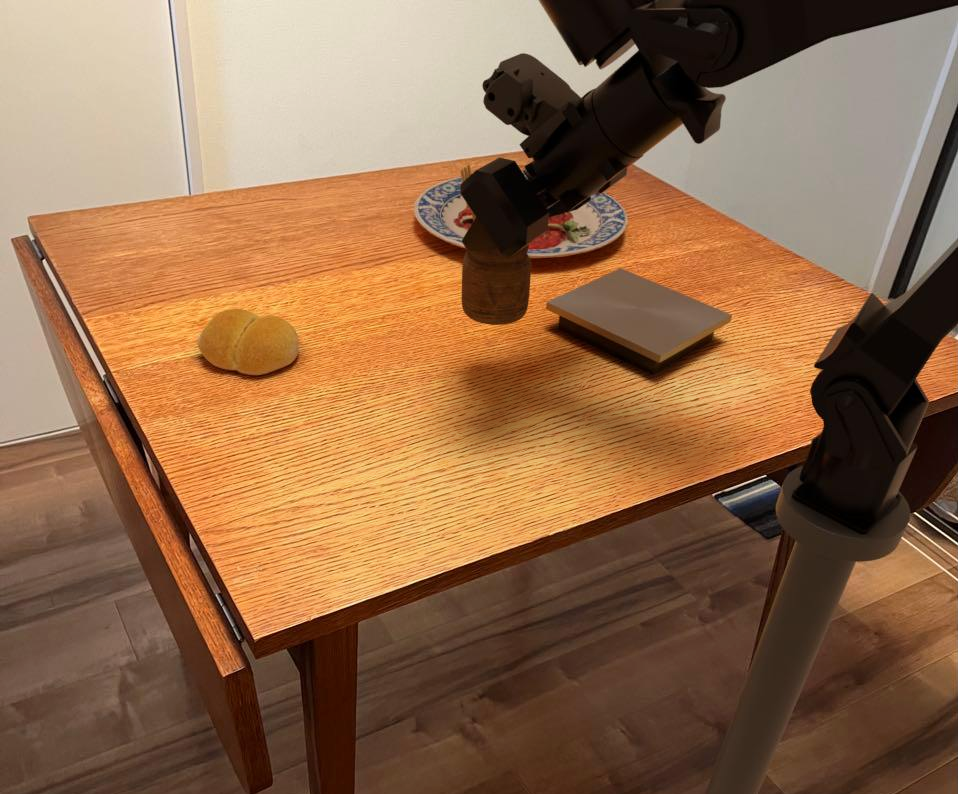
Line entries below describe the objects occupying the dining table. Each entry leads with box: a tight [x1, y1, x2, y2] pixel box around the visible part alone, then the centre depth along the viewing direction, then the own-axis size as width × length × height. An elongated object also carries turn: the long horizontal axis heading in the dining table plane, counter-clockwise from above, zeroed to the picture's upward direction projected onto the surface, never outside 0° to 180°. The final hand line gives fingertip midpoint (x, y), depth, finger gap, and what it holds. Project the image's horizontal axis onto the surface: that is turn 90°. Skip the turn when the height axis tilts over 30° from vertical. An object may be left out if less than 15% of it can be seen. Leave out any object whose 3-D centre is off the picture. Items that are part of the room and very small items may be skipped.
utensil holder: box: [460, 163, 532, 326], centre depth 77 cm, size 6×6×12 cm
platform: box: [545, 267, 733, 376], centre depth 92 cm, size 14×12×3 cm
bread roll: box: [197, 307, 300, 376], centre depth 86 cm, size 8×9×4 cm
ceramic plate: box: [413, 173, 628, 259], centre depth 111 cm, size 26×26×3 cm
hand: (483, 234), depth 77 cm, fingers closed on utensil holder, 5 cm apart
